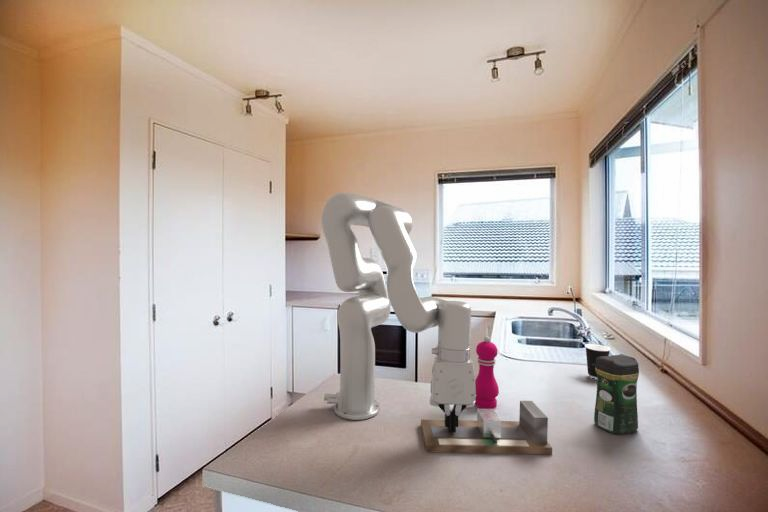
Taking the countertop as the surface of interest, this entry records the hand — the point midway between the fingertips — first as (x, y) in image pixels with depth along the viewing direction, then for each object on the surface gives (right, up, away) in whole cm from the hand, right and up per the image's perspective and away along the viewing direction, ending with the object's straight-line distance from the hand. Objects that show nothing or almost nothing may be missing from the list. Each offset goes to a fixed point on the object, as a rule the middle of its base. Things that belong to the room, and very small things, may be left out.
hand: (451, 429), depth 87 cm
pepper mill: (+13, -2, +19) cm, 23 cm away
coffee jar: (+43, -3, +7) cm, 44 cm away
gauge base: (+7, -2, 0) cm, 8 cm away
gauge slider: (+9, 0, -2) cm, 9 cm away
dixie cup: (+60, -2, +43) cm, 73 cm away
